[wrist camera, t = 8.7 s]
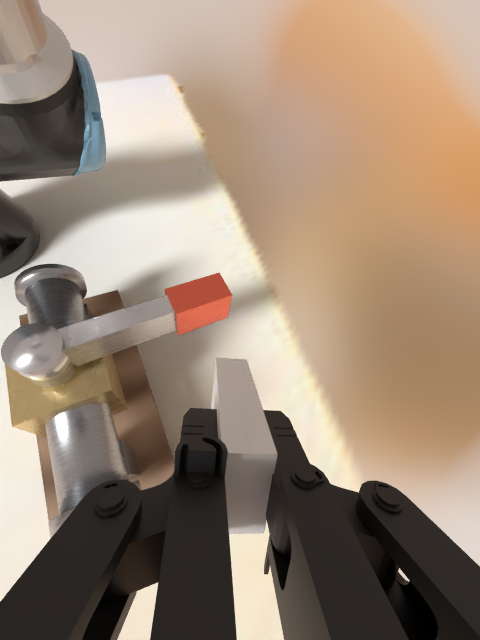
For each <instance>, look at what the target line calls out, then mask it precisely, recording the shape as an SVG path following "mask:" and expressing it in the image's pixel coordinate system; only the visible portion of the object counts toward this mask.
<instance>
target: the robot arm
mask: <svg viewBox="0 0 480 640" xmlns="http://www.w3.org/2000/svg"><path fill="white" fill-rule="evenodd" d="M105 160H106V143H105V134H104V127H103V121H102V118H101V111H100V103H99V98H98V93H97V89H96V84H95V80H94V77H93V74H92V71H91V68H90V64H89V62H88V60H87V58H86V57H85V56H84V55H83V54H81V53H78V52H75V51H73V50H72V49H71V47H70V44H69V42H68V40H67V38H66V37H65V35H64V33H63V32H62V30H61V29H60V28H59V27H58V26H57V25H56V24H55V23H54V22H53V21H52V20H51V19H50V18H49V17H47V16H46V15H45V14H43V13H42V11H41V8H40V4H39V2H38V0H0V181H12V180H24V179H35V178H47V177H59V176H71V175H72V176H77V175H79V174H80V173H86V172H92V171H97V170H99V169H101V168H102V167H103V165H104V163H105ZM38 244H39V231H38V228H37V226H36V225H35V223H34V221H33V220H32V218H31V216H30V215H29V214H28V213H27V211H26V210H25V209H24V208H22V207H21V206H20V205H19V204H18V203H16V202H15V201H14V200H13V199H12V198H10V197H9V196H8V195H7V194H6V193H5V192H3V191H2V190H1V189H0V277H3V276H5V275H7V274H9V273H11V272H13V271H15V270H16V269H18V268H19V267H21V266H22V265H23V264H25V263H26V262H27V261H28V260H29V259H30V258H31V257H32V255H33V254H34V252H35V251H36V249H37V247H38ZM266 519H267V523H268V528H269V533H270V536H269V541H268V547H267V553H266V558H265V564H264V574H268V572H269V567H270V566H271V572H272V577H273V582H274V587H275V593H276V598H277V603H278V609H279V614H280V619H281V624H282V630H283V635H284V640H480V566H478V565H477V564H476V563H475V562H474V561H473V560H472V559H471V558H470V557H469V556H468V555H467V554H466V553H465V552H464V551H463V550H461V548H460V547H459V546H458V545H456V543H454V542H453V541H452V540H451V539H450V538H449V537H448V536H447V535H446V534H445V533H444V532H443V531H442V530H441V529H440V528H439V527H438V526H437V525H436V524H435V523H434V522H433V521H431V520H430V519H429V518H428V517H427V516H426V515H425V514H424V513H423V512H422V511H421V510H420V509H419V508H418V507H417V506H416V505H415V504H414V503H413V502H412V501H411V500H410V499H408V498H407V497H406V496H405V495H404V494H403V493H401V492H400V491H399V490H398V489H396V488H394V487H392V486H390V485H388V484H386V483H383V482H379V481H367V482H365V483H363V484H362V486H361V488H360V491H359V493H358V492H354V491H351V490H347V489H343V488H340V487H337V486H334V485H332V484H330V483H329V481H328V479H327V477H326V476H325V475H324V473H323V472H322V471H321V470H319V469H318V468H317V467H315V466H313V465H311V464H310V463H309V461H308V459H307V457H306V454H305V452H304V450H303V448H302V446H301V444H300V441H299V439H298V437H297V435H296V433H295V431H294V430H293V426H292V424H291V422H290V420H289V418H288V417H286V416H285V415H284V414H283V413H282V412H281V411H268V410H263V408H262V405H261V402H260V399H259V396H258V393H257V390H256V387H255V384H254V381H253V378H252V375H251V372H250V369H249V366H248V363H247V360H242V359H227V358H216V363H215V373H214V383H213V393H212V403H211V409H199V408H190V409H189V410H188V412H187V413H186V414H185V415H184V418H183V426H182V432H181V439H180V443H179V444H178V446H177V448H176V452H175V466H174V473H173V474H172V476H171V477H170V478H169V479H167V480H166V481H165V482H163V483H161V484H160V485H157V486H154V487H152V488H148V489H144V490H140V489H139V488H138V486H137V485H136V484H135V483H133V482H130V481H128V480H117V479H115V480H111V481H107V482H104V483H102V484H100V485H98V486H96V487H94V488H93V489H92V490H91V491H90V492H88V493H87V494H86V495H85V496H84V497H83V499H82V500H81V501H80V502H79V504H78V505H77V506H76V508H75V509H74V510H73V511H72V513H71V514H70V515H69V516H68V518H67V519H66V520H65V521H64V523H63V524H62V525H61V526H60V528H59V529H58V530H57V531H56V533H55V534H54V535H53V536H52V538H51V539H50V540H49V541H48V543H47V544H46V545H45V546H44V548H43V549H42V550H41V552H40V553H39V554H38V555H37V557H36V558H35V559H34V560H33V562H32V563H31V564H30V565H29V567H28V568H27V569H26V570H25V572H24V573H23V574H22V575H21V577H20V578H19V579H18V580H17V582H16V583H15V584H14V585H13V587H12V588H11V589H10V591H9V592H8V593H7V594H6V596H5V597H4V598H3V599H2V601H1V602H0V640H117V638H118V636H119V634H120V631H121V629H122V626H123V624H124V622H125V619H126V617H127V614H128V612H129V610H130V607H131V605H132V602H133V600H134V598H135V595H136V592H137V591H138V590H140V589H143V588H145V587H147V586H150V585H152V584H155V583H157V582H159V583H158V590H157V597H156V603H155V610H154V617H153V624H152V631H151V638H150V640H237V638H236V624H235V611H234V597H233V583H232V570H231V556H230V543H229V534H244V533H264V531H265V525H266ZM399 568H400V569H401V570H402V571H403V573H404V574H405V575H406V577H407V578H408V579H409V580H410V581H409V582H408V581H406V580H405V579H404V578H403V577H402V576H401V575H400V574H399V572H398V570H399Z"/></svg>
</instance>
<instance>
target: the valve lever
mask: <svg viewBox="0 0 480 640" xmlns="http://www.w3.org/2000/svg"><path fill="white" fill-rule="evenodd" d="M165 294H166V295H165V296H162V297H159V298H156V299H152V300H149V301H146V302H143V303H140V304H137V305H133V306H130V307H127V308H124V309H121V310H117V311H114V312H111V313H108V314H105V315H102V316H98V317H95V318H92V319H89V320H86V321H82V322H79V323H76V324H73V325H70V326H67V327H63V328H60V329H57V330H56V329H55V328H54V327H52V326H51V325H48V324H45V323H31V324H27V325H24V326H22V327H20V328H18V329H16V330H15V331H13V332H12V333H11V334H10V335H9V336H8V337H7V338H6V340H5V341H4V343H3V346H2V349H1V356H2V359H3V361H4V362H5V364H6V365H7V366H9V367H10V368H12V369H14V370H15V371H17V372H18V373H20V374H21V375H23V376H24V377H26V378H27V379H29V380H31V381H32V382H34V383H35V384H37V385H38V386H41V387H45V388H53V387H58V386H61V385H63V384H65V383H66V382H68V381H69V380H70V379H71V378H72V377H73V376H74V375H75V374H76V372H77V370H78V368H79V365H82V364H85V363H88V362H90V361H93V360H96V359H99V358H101V357H104V356H107V355H110V354H112V353H115V352H118V351H121V350H124V349H126V348H129V347H132V346H135V345H137V344H140V343H143V342H146V341H148V340H151V339H154V338H157V337H159V336H162V335H165V334H168V333H171V332H173V331H177V334H178V335H181V334H184V333H186V332H189V331H192V330H194V329H197V328H200V327H203V326H205V325H208V324H211V323H213V322H216V321H219V320H222V319H224V318H227V317H228V313H229V308H230V303H231V298H232V294H231V292H230V290H229V289H228V287H227V285H226V283H225V282H224V280H223V278H222V276H221V275H220V273H216V274H213V275H210V276H206V277H203V278H200V279H197V280H193V281H190V282H187V283H184V284H180V285H177V286H174V287H171V288H167V289H165Z"/></svg>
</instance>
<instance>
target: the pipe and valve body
mask: <svg viewBox="0 0 480 640" xmlns="http://www.w3.org/2000/svg"><path fill="white" fill-rule="evenodd" d="M14 286H15V293H16V297H17V299H18V301H19V302H20V303H21V304H23V305H24V306H26V307H27V313H28V320H29V324H31V323H45V324H48V325H51V326H52V327H54V328H55V329H56V330H57V329H60V328H63V327H67V326H70V325H73V324H76V323H79V322H82V321H86V320H89V319H92V318H94V316H93V314H92V312H91V311H90V309H89V307H88V306H87V304H83V298H84V297H85V295H86V293H87V288H86V284H85V280H84V278H83V276H82V274H81V273H80V272H78V271H77V270H75V269H73V268H71V267H68V266H65V265H59V264H43V265H37V266H34V267H31V268H28V269H26V270H24V271H23V272H21V273H20V274H19V275H18V276H17V278H16V279H15V283H14ZM5 367H6V376H7V385H8V394H9V403H10V412H11V421H12V427H15V428H18V429H21V430H25V431H28V432H31V433H34V434H37V435H40V436H43V437H46V438H47V439H48V445H49V451H50V458H51V464H52V470H53V477H54V483H55V489H56V495H57V502H58V508H59V514H60V515H58V516H56V517H55V518H53V519H51V520H50V521H49V529H50V536H51V538H52V536H53V535H54V534H55V533H56V531H57V530H58V529H59V528H60V526H61V525H62V524H63V523H64V521H65V520H66V519H67V518H68V516H69V515H70V514H71V513H72V511H73V510H74V509H75V508H76V506H77V505H78V504H79V502H80V501H81V500H82V499H83V497H84V496H85V495H86V494H87V493H88V492H90V491H91V490H92V489H93V488H94V487H96V486H98V485H100V484H102V483H104V482H107V481H111V480H115V479H117V480H128V481H129V480H131V479H133V478H136V477H138V476H140V473H139V470H138V466H137V462H136V459H135V455H134V452H133V448H132V446H130V445H129V444H127V443H126V442H124V441H123V440H122V441H120V442H119V439H118V435H117V431H116V428H115V424H114V420H113V416H112V415H115V414H117V413H120V412H122V411H125V410H127V409H128V408H127V404H126V401H125V397H124V394H123V390H122V387H121V383H120V380H119V376H118V373H117V369H116V366H115V362H114V359H113V355H112V354H110V355H107V356H104V357H101V358H99V359H96V360H93V361H90V362H88V363H85V364H82V365H79V368H78V370H77V372H76V374H75V375H74V376H73V377H72V378H71V379H70V380H69V381H68V382H66V383H65V384H63V385H61V386H58V387H53V388H45V387H41V386H38V385H37V384H35V383H34V382H32V381H31V380H29V379H27V378H26V377H24V376H23V375H21V374H20V373H18V372H17V371H15V370H14V369H12V368H10V367H9V366H7V365H6V364H5ZM133 483H135V484H136V485H137V486H138V488H139V489H140V490H141V486H140V482H139V480H136V481H133Z"/></svg>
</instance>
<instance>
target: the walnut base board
mask: <svg viewBox="0 0 480 640" xmlns="http://www.w3.org/2000/svg"><path fill="white" fill-rule="evenodd" d="M83 304H87V306H88V307H89V309H90V311H91V312H92V314H93V316H94V318H95V317H98V316H102V315H105V314H108V313H111V312H114V311H117V310H121V309H124V307H123V304H122V301H121V298H120V295H119V293H118V290H116V291H112V292H108V293H104V294H101V295H97V296H93V297H89V298H85V299H83ZM19 318H20V325H21V327H22V326H24V325H27V324H29V320H28V314H25V315H21V316H19ZM112 355H113V359H114V362H115V366H116V369H117V373H118V376H119V380H120V383H121V387H122V390H123V394H124V397H125V401H126V404H127V408H128V409H127V410H125V411H122V412H120V413H117V414H115V415H112V416H113V420H114V424H115V428H116V431H117V435H118V439H119V442H120V441H122V440H123V441H124V442H126V443H127V444H129V445H130V446H132V448H133V452H134V455H135V459H136V462H137V466H138V470H139V473H140V476H138V477H136V478H133V479H131V480H129V481H130V482H133V481H136V480H139V482H140V486H141V490H144V489H148V488H152V487H154V486H157V485H160V484H161V483H163V482H165V481H166V480H167V479H169V478H170V477H171V476H172V474H173V473H174V466H175V462H174V459H173V456H172V453H171V450H170V447H169V444H168V441H167V438H166V435H165V432H164V429H163V426H162V423H161V420H160V417H159V414H158V411H157V408H156V405H155V401H154V398H153V395H152V392H151V389H150V386H149V383H148V380H147V377H146V374H145V371H144V368H143V365H142V362H141V359H140V356H139V353H138V350H137V347H136V345H135V346H132V347H129V348H126V349H124V350H121V351H118V352H115V353H112ZM36 436H37V443H38V450H39V457H40V463H41V470H42V477H43V484H44V491H45V498H46V505H47V512H48V519H49V521H50V520H51V519H53V518H55V517H56V516H58V515H60V514H59V508H58V502H57V495H56V489H55V483H54V477H53V470H52V464H51V458H50V451H49V445H48V439H47V438H46V437H43V436H40V435H37V434H36Z"/></svg>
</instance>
